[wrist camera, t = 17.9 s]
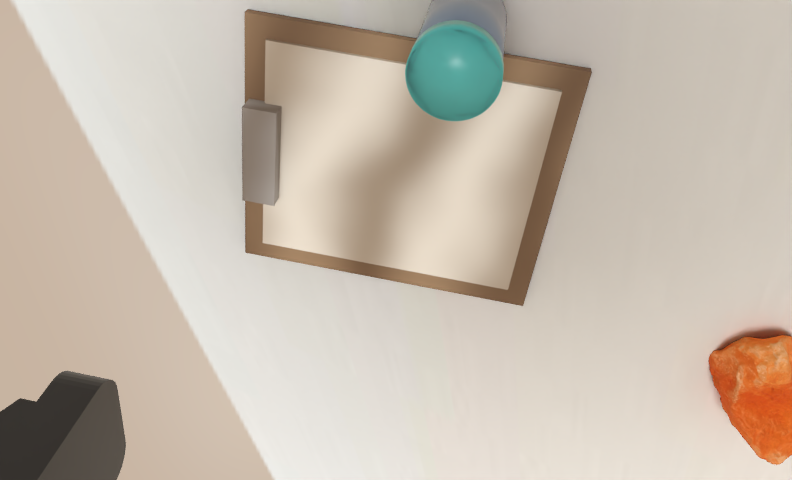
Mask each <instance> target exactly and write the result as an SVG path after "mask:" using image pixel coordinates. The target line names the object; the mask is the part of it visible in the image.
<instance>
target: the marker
mask: <svg viewBox="0 0 792 480" xmlns="http://www.w3.org/2000/svg"><path fill="white" fill-rule="evenodd" d="M506 22H507V16H506V10H505V6H504V4H503V2H502V0H432V2H431V4H430V7H429V10H428V12H427V15H426V17H425V20H424V23H423V25H422V28H421V30H420V33H419V35H418V38H417V40H416V42H415V43H414V45H413V47H412V49H411V52H410V54H409V57H408V60H407V63H406V69H405V79H406V85H407V88H408V91H409V93H410V95H411V97H412V99H413V100H414V101H415V103H416V104H417V105H418V106H419V107H420V108H421V109H422V110H423V111H425V112H426V113H428V114H429V115H431V116H433V117H435V118H438V119H441V120H445V121H464V120H468V119H471V118H474V117H476V116H478V115H480V114H482V113H483V112H485V111H486V110H487V109H488V108H489V107H490V106H491V105H492V104H493V103H494V102H495V100H496V98H497V97H498V95H499V92H500V90H501V87H502V81H503V72H504V62H503V55H504V44H505V33H506Z"/></svg>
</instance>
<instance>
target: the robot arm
mask: <svg viewBox="0 0 792 480" xmlns="http://www.w3.org/2000/svg"><path fill="white" fill-rule="evenodd" d="M125 447H126V442H125V435H124V429H123V422H122V415H121V409H120V403H119V396H118V390H117V385H116V383H115V382H114V381H113V380H109V379H104V378H100V377H95V376H90V375H84V374H80V373H75V372H70V371H64V372H61V373H60V374H58V376H56V377H55V378H54V379H53V381H52V382H51V383H50V385H49V386H48V387H47V389H46V390H45V391H44V393H43V394H42V395H41V396H40V398H39V399H38V401H37V402H35V401H30V400H25V399H18V400H17V401H15V402H14V403H13V404H11V405H10V406H8V407H7V408H5V409H4V410H2V411H1V412H0V480H116V479H117V477H118V475H119V473H120V470H121V467H122V463H123V459H124V455H125Z"/></svg>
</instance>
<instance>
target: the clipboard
mask: <svg viewBox="0 0 792 480" xmlns="http://www.w3.org/2000/svg"><path fill="white" fill-rule="evenodd" d="M416 40H417V39H416V38H410V37H404V36H399V35H393V34H387V33H381V32H375V31H370V30H364V29H358V28H352V27H347V26H341V25H335V24H329V23H323V22H318V21H312V20H306V19H300V18H294V17H289V16H283V15H277V14H271V13H266V12H260V11H254V10H247V11H245V104H244V106H243V107H242V179H243V200H244V201H245V252H246V253H251V254H256V255H261V256H267V257H272V258H277V259H282V260H287V261H293V262H298V263H303V264H308V265H313V266H319V267H324V268H329V269H334V270H339V271H345V272H350V273H355V274H360V275H365V276H370V277H376V278H381V279H386V280H391V281H396V282H402V283H407V284H412V285H417V286H422V287H428V288H433V289H438V290H443V291H448V292H454V293H459V294H464V295H469V296H474V297H480V298H485V299H490V300H495V301H500V302H505V303H511V304H516V305H521V306H523V304H524V300H525V297H526V294H527V290H528V287H529V283H530V280H531V277H532V273H533V270H534V266H535V263H536V260H537V256H538V253H539V249H540V246H541V243H542V239H543V236H544V232H545V229H546V226H547V222H548V219H549V215H550V212H551V209H552V205H553V202H554V198H555V195H556V192H557V188H558V185H559V181H560V178H561V175H562V171H563V168H564V164H565V161H566V158H567V154H568V151H569V147H570V144H571V141H572V137H573V134H574V130H575V127H576V124H577V120H578V117H579V113H580V110H581V107H582V103H583V100H584V96H585V93H586V90H587V86H588V83H589V79H590V76H591V73H592V72H591V69H590V68H584V67H578V66H572V65H566V64H561V63H555V62H549V61H543V60H538V59H532V58H526V57H520V56H514V55H509V54H504V55H503V62H504V72H503V81H502V87H501V90H500V92H499V95H498V97H497V98H496V100H495V102H494V103H493V104H492V105H491V106H490V107H489V108H488V109H487V110H486V111H485V112H483V113H482V114H480V115H478V116H476V117H474V118H471V119H468V120H464V121H445V120H441V119H438V118H435V117H433V116H431V115H429V114H428V113H426V112H425V111H423V110H422V109H421V108H420V107H419V106H418V105H417V104H416V103H415V101H414V100H413V99H412V97H411V95H410V93H409V91H408V88H407V85H406V79H405V69H406V63H407V60H408V57H409V54H410V52H411V49H412V47H413V45H414V43H415V42H416Z"/></svg>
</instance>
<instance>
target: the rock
mask: <svg viewBox="0 0 792 480" xmlns="http://www.w3.org/2000/svg"><path fill="white" fill-rule="evenodd" d="M709 364H710V371H711V375H712V376H713V382H714V386H715V387H716V388H717V390H718V392H719V394H720V396H721V398H720V400H721V402H722V407H723V409H724V411H725V412H726V413H727V414H728V417H729V419H730V421H731V424H732V425H733V426H734V427H736V429H737V430H738V431H739V433H740V434H741V435H742V437H743V438H744V439H745V440H746V441H747V443H748V444H749V445H750V447H751V448H752V449H753V450H754V451H755V453H756V455H757V456H758V457H760V458H762V459H765V460H766V461H767V462H770V463H771V464H776V465H778V464H781V463H783V462H784V460H785V459H787V458H788V457H789V456H791V455H792V337H791V336H785V335H780V336H776V337H771V338H766V339H760V338H752V337H743V338H741V339H740V340H738V341H735V342H733V343H731V344H730V345H728V346H726V347H725V348H724V349H722V350H716V351H713V353H712V354H711V355H710V357H709Z"/></svg>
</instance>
